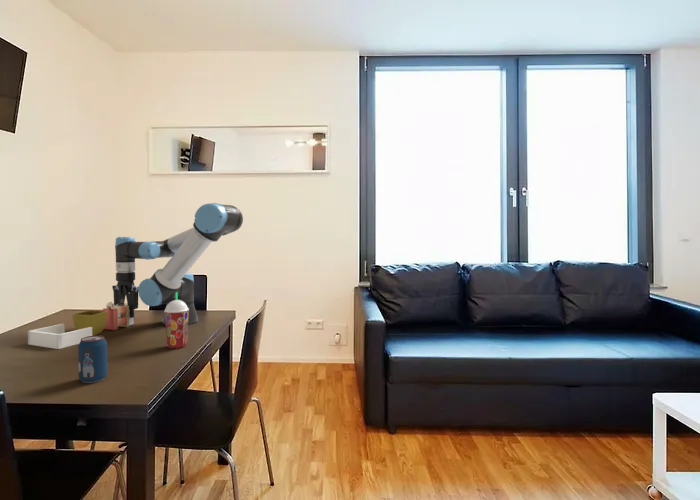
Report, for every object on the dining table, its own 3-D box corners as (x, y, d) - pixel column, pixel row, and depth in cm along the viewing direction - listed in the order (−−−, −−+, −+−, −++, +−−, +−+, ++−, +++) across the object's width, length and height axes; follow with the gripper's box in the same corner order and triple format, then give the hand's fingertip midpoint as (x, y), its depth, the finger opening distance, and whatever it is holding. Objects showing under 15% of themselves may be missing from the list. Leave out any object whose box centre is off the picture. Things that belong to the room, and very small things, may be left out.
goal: (92, 340, 159) (92, 327, 158) (58, 349, 146) (58, 335, 146) (62, 336, 164) (62, 323, 164) (27, 344, 152) (27, 330, 151)
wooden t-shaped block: (141, 323, 185) (141, 298, 184) (115, 330, 172) (115, 303, 172) (126, 322, 188) (125, 297, 187) (99, 328, 175) (99, 302, 175)
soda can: (104, 373, 123) (103, 333, 122) (110, 379, 118) (109, 338, 117) (76, 378, 118) (75, 337, 117) (81, 385, 113) (80, 342, 112)
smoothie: (194, 344, 154) (193, 291, 153) (177, 350, 146) (177, 294, 145) (176, 342, 157) (175, 290, 156) (159, 348, 149) (158, 293, 148)
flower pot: (90, 338, 161) (90, 315, 161) (71, 336, 163) (71, 314, 163) (108, 332, 170) (107, 311, 169) (90, 331, 172) (89, 310, 171)
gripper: (103, 271, 181) (104, 324, 182) (133, 273, 175) (133, 327, 176) (118, 270, 188) (119, 320, 189) (147, 271, 182) (148, 324, 183)
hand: (126, 324), depth 183 cm, fingers closed on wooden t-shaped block, 4 cm apart
